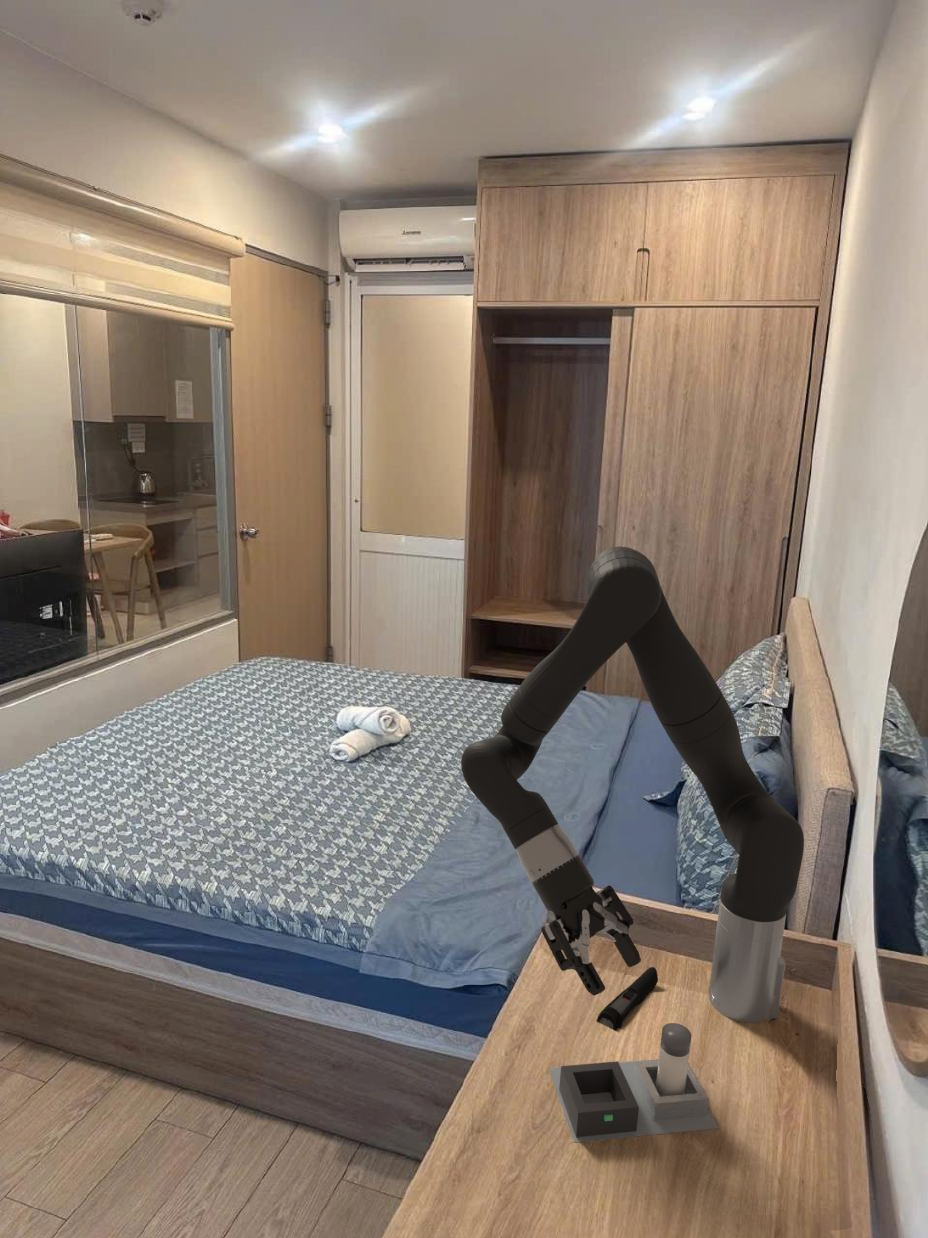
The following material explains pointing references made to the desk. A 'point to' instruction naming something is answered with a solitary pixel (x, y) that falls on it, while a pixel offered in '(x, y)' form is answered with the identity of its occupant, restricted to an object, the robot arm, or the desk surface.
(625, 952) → the robot arm
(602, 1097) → the panel
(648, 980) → the electric trimmer
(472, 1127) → the desk surface
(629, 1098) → the port
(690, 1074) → the square frame
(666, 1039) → the plug
